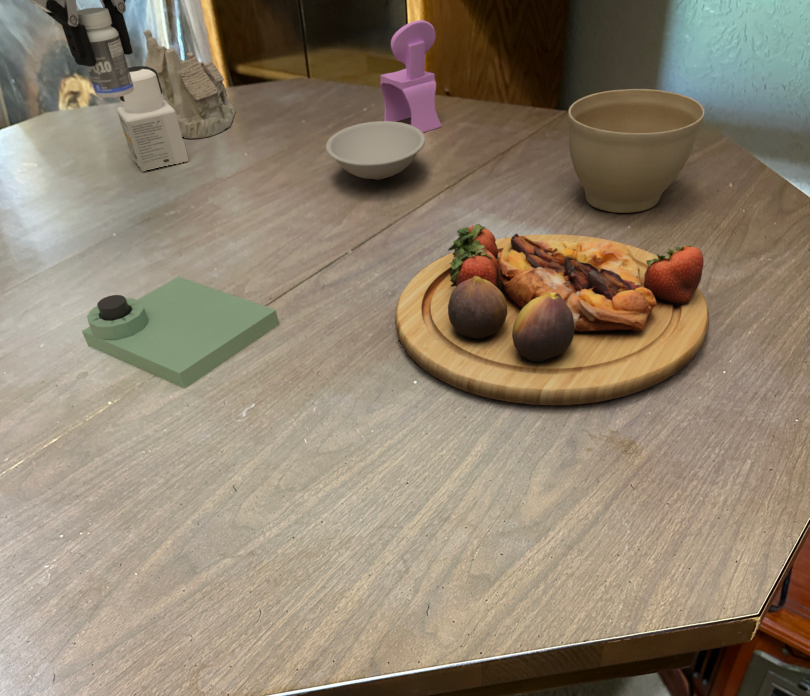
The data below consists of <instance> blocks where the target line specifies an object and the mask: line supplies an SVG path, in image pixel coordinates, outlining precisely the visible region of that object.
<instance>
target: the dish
mask: <svg viewBox="0 0 810 696" xmlns="http://www.w3.org/2000/svg"><path fill="white" fill-rule="evenodd" d="M425 144H426V136H425V134H424V132H422V131H421V130H419V129H418V128H416V127H414V126H412V125H411V124H408V123H404V122H400V121H397V122H392V121H384V120H381V121H380V120H379V121H378V120H377V121H368V122H362V123H357V124H354V125H350V126H347V127H345V128H343V129H340V130H339V131H337V132H335V133H333V135H331V136H330V137H329V138H328V140H327V141H326V144H325V150H326V153H327V155H329V157H330V158H332V159H333V160H335V161H336V163H338V165H340V166H341V168H342V169H344V170H345V171H347V173H350V174H352V175H353V176H356V177H358V178H362V179H368V180H383V179H386V178H390V177H393V176H395V175H397V174H399V173H401V172H402V171H404V170H405V169H406V168H407V167H408V166H410V164H411V163H412V162H413V161H414V160H415V158H416V157H417V155H418V154H419V152H420V151H421V150H422V149H423V148H424V146H425Z"/></svg>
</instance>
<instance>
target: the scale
mask: <svg viewBox="0 0 810 696" xmlns="http://www.w3.org/2000/svg"><path fill="white" fill-rule="evenodd" d="M125 298H126V297H125ZM126 301H127V303H128V306H129V309H130V311H131V312H130V314H129V315H127V316H125V317H123V318H121V319H117V320H113V321H105V320H103V318H102V316H101V314H100V311H99V309H98V306H97V305H96V306H94V307H93V308H92V309H91V310H90V311H89V313H87V315H86V318H87V322H88V325H89V326H88V327H86V328H85V329H83V330H81V333H82V335H83V337H84V339H85V342H86V344H87V346H88V347H90V348H93V349H95V350H97V351H99V352H101V353H103V354H106V355H108V356H110V357H113V358H115V359H117V360H119V361H122V362H124V363H126V364H128V365H131V366H132V367H136V368H137V369H139V370H142V371H145V372H147V373H148V374H151V375H154V376H156V377H158V378H160V379H163V380H165V381H167V382H169V383H171V384H174V385H176V386H178V387H181V388H183V389H186V388H188V387H189V386H191V385H192V384H194V383H195V382H196V381H197V382H198V380H200V379H201V378H203V377H204V376H207V374H209V373H210V372H212V371H213V370H215V369H216V368H218V367H219V366H220V365H222V364H223V363H225V362H226V361H228V360H229V359H231V358H233V357H234V356H236V355H237V354H239V353H240V352H241V351H243V350H244V349H246V348H247V347H249V346H250V345H252V344H253V343H255V342H256V341H258V340H259V339H261V338H262V337H263V336H265V335H267V334H268V333H269V332H271V331H272V330H274V329H276V327H278V326H280V322H279V318H278V317H279V316H278V313H277V310H276V309H275V308H273V307H269V306H266V305H264V304H260V303H257V302H254V301H252V300H249V299H245V298H243V297H239V296H237V295H234V294H231V293H229V292H225V291H222V290H220V289H216V288H213V287H211V286H208V285H204V284H202V283H199V282H195V281H193V280H189V279H186V278H184V277H182V276H177V277H175V278H173V279H171V280H169V281H168V282H165V283H164V284H162V285H161V286H159V287H157V288H155V289H154V290H152V291H150V292H148V293H146V294H144V295H143V296H141V297H139V298H138V299H135V298H133V297H127V298H126Z"/></svg>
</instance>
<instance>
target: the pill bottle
mask: <svg viewBox="0 0 810 696" xmlns="http://www.w3.org/2000/svg"><path fill="white" fill-rule="evenodd" d="M77 13H78V21H79V24H80V25H84V27H85V28H86V31H87V34H88V37H89V41H90V44H91V47H92V50H93V53H94V56H95V60H96V65H95V66H92V67H90V66H86V70H87V73H88V75H89V78H90V81H91V85H92V88H93V90H94V94H95V95H96V96H97V97H99V98H104V99H114V98H120V97H121V96H124V95H127V94H129V93H131V92H132V91H133V90H134V86H133V83H132V79H131V76H130V73H129V69H128V68H129V66H128V61H127V58H126V56H125V55H126V54H124V51H123V48H122V44H121V41H120V37H119V34H118V32H117V30H116V29H115V28H113V27H111V24H112V22H111V17H110V14H109V10H108V9H107V8H103V7H88V8H82V9H79V10H78V9H77Z"/></svg>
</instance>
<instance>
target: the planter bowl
mask: <svg viewBox="0 0 810 696" xmlns="http://www.w3.org/2000/svg"><path fill="white" fill-rule="evenodd" d="M704 108H705V107H704V106H703V105H702V104H701V103H700V102H699V101H697V100H696V99H694V98H692V97H689V96H687V95H685V94H680V93H676V92H673V91H667V90H660V89H650V88H629V89H613V90H605V91H601V92H597V93H591V94H589V95H586V96H583V97H581V98H579V99H577V100H576V101H574V102H573V103H572V104H571V105H570V106H569V108H568V113H567V117H568V118H567V119H568V120H567V121H568V125H569V126H568V147H569V154H570V159H571V163H572V166H573V170H574V172H575V174H576V177H577V179H578V181H579V183H580V184H581V186H582V188H583V190H584V194H585V195H584V196H585V200H586V202H587V203H588V204H589V205H590V206H592V207H593V208H596V209H598V210H601V211H605V212H609V213H618V214H631V213H639V212H642V211H646V210H649V209H652V208H654V207H655V206H656V205H657V204H658V203H659V201H660V198H661V196H662V193H663V192H665V191H666V190H667V189H668V188H669V186H671V185H672V183H673V182H674V181H675V180H676V179H677V177H678V176H679V174H680V173H681V171H682V170H683V169H684V167H685V165H686V163H687V161H688V159H689V158H690V156H691V154H692V152H693V149H694V147H695V144H696V141H697V138H698V134H699V130H700V127H701V126H702V123H703V121H704V117H705V111H706V110H705V109H704Z"/></svg>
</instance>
